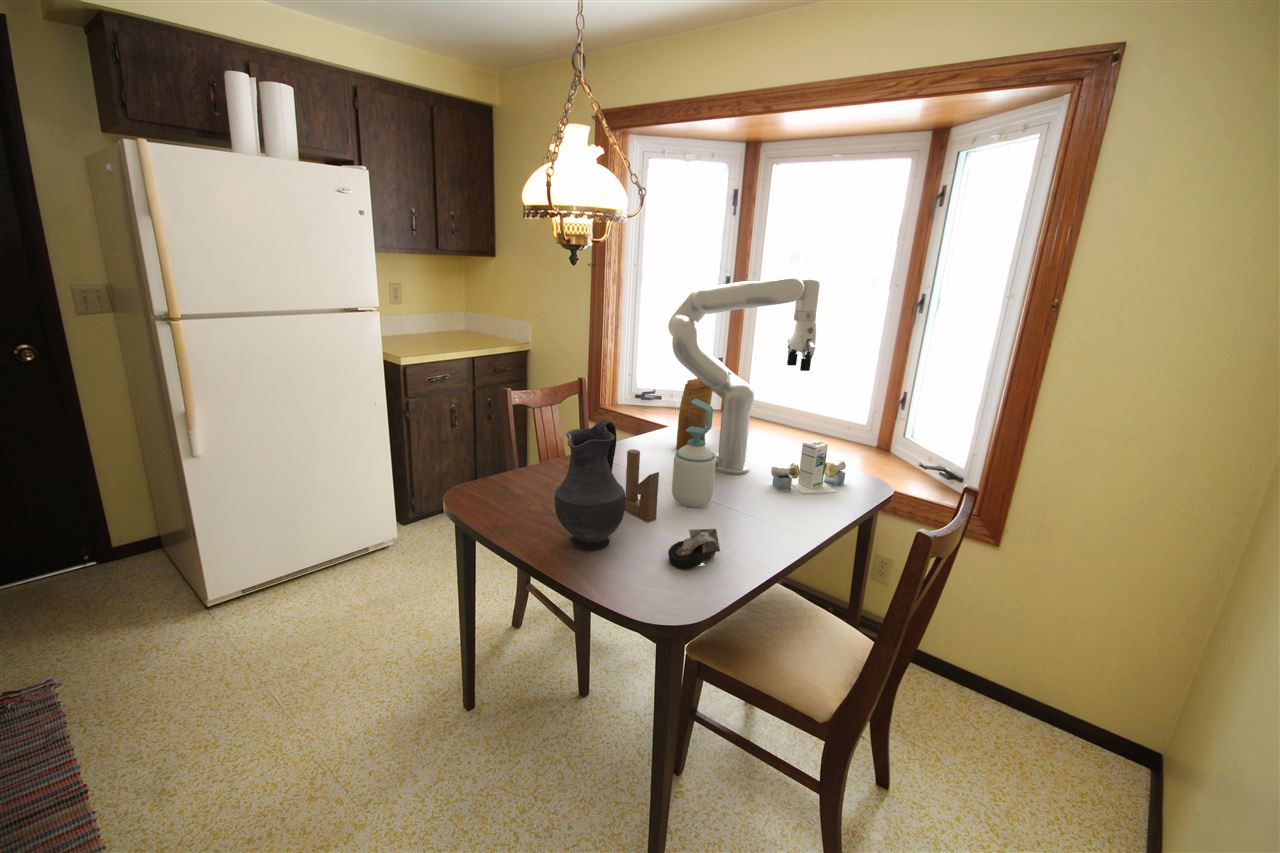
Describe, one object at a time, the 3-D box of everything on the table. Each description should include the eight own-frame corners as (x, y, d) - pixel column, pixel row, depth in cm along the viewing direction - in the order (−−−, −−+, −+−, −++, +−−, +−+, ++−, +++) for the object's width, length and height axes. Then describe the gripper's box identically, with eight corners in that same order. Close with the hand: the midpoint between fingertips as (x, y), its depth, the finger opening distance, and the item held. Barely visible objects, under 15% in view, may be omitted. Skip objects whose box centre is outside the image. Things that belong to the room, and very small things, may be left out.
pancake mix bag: (715, 444, 221) (721, 375, 213) (681, 453, 209) (686, 380, 201) (702, 440, 226) (708, 372, 218) (669, 448, 214) (673, 377, 206)
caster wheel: (668, 577, 130) (675, 551, 139) (716, 576, 127) (720, 550, 136) (663, 553, 128) (670, 529, 137) (711, 552, 125) (716, 527, 134)
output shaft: (833, 487, 182) (837, 464, 180) (820, 482, 186) (823, 460, 183) (846, 482, 187) (849, 460, 185) (832, 478, 191) (835, 456, 188)
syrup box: (811, 489, 179) (817, 447, 175) (797, 483, 184) (802, 441, 179) (822, 486, 182) (828, 444, 178) (807, 480, 187) (813, 439, 183)
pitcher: (542, 549, 135) (541, 431, 127) (581, 515, 154) (583, 411, 145) (606, 565, 129) (610, 443, 121) (639, 528, 148) (644, 420, 139)
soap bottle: (678, 490, 174) (684, 394, 165) (716, 498, 170) (725, 399, 161) (665, 505, 163) (672, 402, 154) (706, 513, 159) (715, 408, 150)
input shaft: (774, 490, 178) (777, 467, 175) (768, 484, 182) (770, 461, 180) (797, 489, 179) (800, 466, 177) (790, 483, 184) (793, 460, 182)
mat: (801, 493, 176) (802, 493, 176) (785, 479, 187) (785, 478, 187) (836, 492, 178) (836, 491, 178) (818, 478, 190) (818, 477, 189)
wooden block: (647, 523, 151) (650, 461, 146) (621, 509, 159) (623, 450, 154) (656, 519, 154) (660, 458, 149) (631, 506, 161) (633, 447, 156)
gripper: (828, 319, 175) (820, 373, 180) (802, 314, 192) (796, 363, 197) (806, 319, 174) (799, 372, 179) (782, 313, 190) (776, 363, 195)
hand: (798, 367), depth 188 cm, fingers open, 9 cm apart
